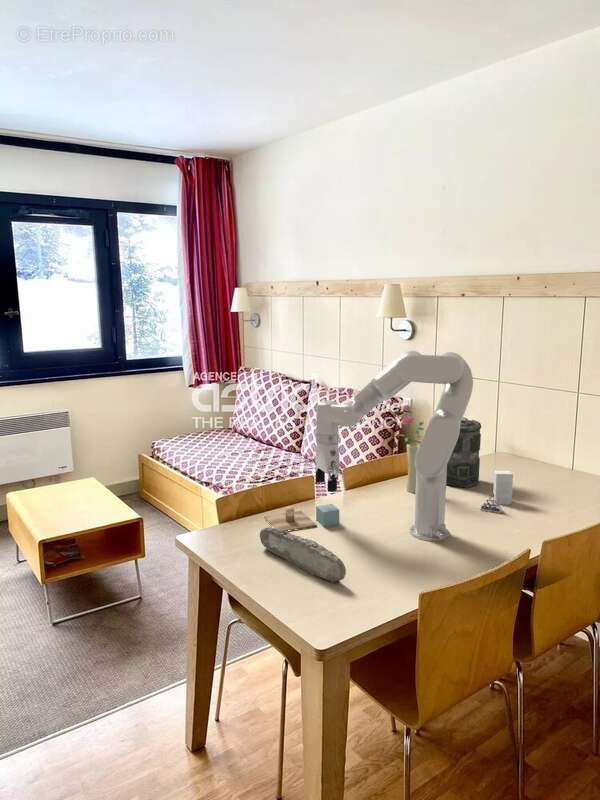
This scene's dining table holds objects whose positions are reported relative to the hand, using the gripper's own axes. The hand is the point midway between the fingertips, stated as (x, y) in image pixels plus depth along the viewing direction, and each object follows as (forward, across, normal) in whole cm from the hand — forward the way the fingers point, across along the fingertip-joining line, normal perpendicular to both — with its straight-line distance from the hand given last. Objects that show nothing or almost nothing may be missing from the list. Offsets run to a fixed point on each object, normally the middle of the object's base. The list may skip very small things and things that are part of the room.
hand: (325, 486), depth 198 cm
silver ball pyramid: (+13, -12, -62) cm, 65 cm away
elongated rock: (+14, -27, +20) cm, 36 cm away
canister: (+13, +18, -70) cm, 73 cm away
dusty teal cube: (+14, -1, -1) cm, 14 cm away
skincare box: (+12, -8, -70) cm, 71 cm away
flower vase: (+13, +16, -43) cm, 48 cm away
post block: (+14, +4, +11) cm, 18 cm away
